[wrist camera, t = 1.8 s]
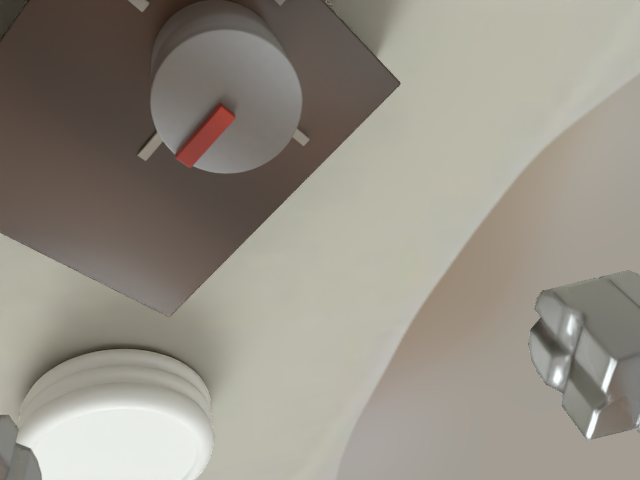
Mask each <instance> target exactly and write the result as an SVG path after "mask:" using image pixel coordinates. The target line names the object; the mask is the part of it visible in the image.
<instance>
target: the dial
mask: <svg viewBox="0 0 640 480" xmlns="http://www.w3.org/2000/svg"><path fill="white" fill-rule="evenodd" d="M302 102H303V99H302V89H301V85H300V81H299V78H298V75H297V73H296V71H295V69H294V67H293V65H292V63H291V62H290V60H289V58H288V57H287V55H286V53H285V52H284V50H283V48H282V47H281V45H280V43H279V42H278V40H277V38H276V37H275V35H274V33H273V32H272V30H271V29H270V27H269V26H268V25H267V24H266V22H265V21H264V20H263V19H262V18H261V17H259V16H258V15H257V14H256V13H254V12H253V11H251V10H250V9H248V8H246V7H244V6H242V5H240V4H237V3H234V2H230V1H224V0H206V1H200V2H196V3H193V4H191V5H188V6H186V7H184V8H182V9H181V10H179V11H178V12H176V13H175V14H174V15H173V16H171V17H170V18H169V19H168V20H167V22H166V23H165V24H164V25H163V27H162V28H161V30H160V31H159V33H158V35H157V37H156V39H155V42H154V45H153V50H152V55H151V85H150V108H151V114H152V119H153V122H154V125H155V127H156V130H157V132H158V134H159V135H160V137H161V139H162V140H163V142H164V143H165V144H166V146H167V147H168V148H169V149H170V150H171V151H172V152H173V153H174V154H175V157H176V159H177V160H179V161H180V162H182V163H183V164H185V165H186V166H187V167H189V168H191V167H192V166H194V167H197V168H199V169H202V170H205V171H209V172H214V173H225V174H226V173H239V172H244V171H248V170H251V169H254V168H257V167H259V166H261V165H263V164H265V163H267V162H269V161H270V160H271V159H273V158H274V157H276V156H277V155H278V154H279V153H280V152H281V151H282V150H283V149H284V148H285V147H286V145H287V144H288V143H289V142H290V140H291V138H292V137H293V135H294V133H295V131H296V129H297V127H298V124H299V121H300V118H301V113H302Z"/></svg>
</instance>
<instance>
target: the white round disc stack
mask: <svg viewBox="0 0 640 480" xmlns="http://www.w3.org/2000/svg"><path fill="white" fill-rule="evenodd" d="M17 427H18V429H19V431H18V435H17V440H16V443H18V444H21V445H23V446H26V447H28V448H31V450H32V451H33V453H34V455H35V456H36V458H37V460H38V463H39V467H40V470H41V473H42V480H195V479H196V478H197V477H198V476H199V475H200V474H201V473H202V472H203V470H204V469H205V467H206V466H207V464H208V463H209V460H210V458H211V456H212V451H213V447H214V438H215V436H214V430H213V416H212V411H211V398H210V394H209V392H208V389H207V387H206V385H205V383H204V382H203V380H202V379H201V378H200V376H199V375H198V374H197V373H196V372H195V371H194V370H192V369H191V368H190V367H188V366H187V365H185V364H184V363H182V362H180V361H178V360H176V359H174V358H171V357H169V356H166V355H162V354H159V353H155V352H150V351H144V350H137V349H111V350H103V351H97V352H92V353H88V354H84V355H81V356H78V357H75V358H72V359H70V360H68V361H65V362H63V363H61V364H59V365H57V366H56V367H54V368H53V369H51V370H49V371H48V372H47V373H45V374H44V375H43V376H42V377H40V379H39V380H38V381H37V382H36V383H35V384H34V385H33V386H32V388H31V389H30V391H29V392H28V394H27V395H26V397H25V399H24V401H23V403H22V406H21V409H20V414H19V420H18V423H17Z"/></svg>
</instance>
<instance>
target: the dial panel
mask: <svg viewBox="0 0 640 480" xmlns="http://www.w3.org/2000/svg"><path fill="white" fill-rule="evenodd" d="M200 1H206V0H28V1H27V3H26V4H25V6H24V7H23V8H22V10H21V11H20V13H19V14H18V15H17V17H16V18H15V20H14V21H13V22H12V24H11V25H10V27H9V28H8V30H7V31H6V32H5V34H4V35H3V37H2V38H1V39H0V233H2V234H4V235H6V236H8V237H10V238H12V239H14V240H16V241H18V242H20V243H22V244H24V245H26V246H28V247H30V248H32V249H34V250H36V251H38V252H40V253H42V254H44V255H46V256H48V257H50V258H52V259H54V260H56V261H58V262H60V263H62V264H64V265H66V266H68V267H70V268H72V269H74V270H76V271H78V272H80V273H82V274H84V275H86V276H88V277H90V278H92V279H94V280H96V281H98V282H100V283H102V284H104V285H106V286H108V287H110V288H112V289H114V290H116V291H118V292H120V293H122V294H124V295H126V296H128V297H130V298H132V299H134V300H136V301H138V302H140V303H142V304H144V305H146V306H148V307H150V308H152V309H154V310H156V311H158V312H160V313H162V314H164V315H166V316H168V317H170V316H171V315H172V314H173V313H174V312H175V311H176V310H177V309H178V308H179V307H180V306H181V305H182V304H183V303H184V302H185V301H186V300H187V299H188V298H189V297H190V296H191V295H192V294H193V293H194V292H195V291H196V290H197V289H198V288H199V287H200V286H201V285H202V284H203V283H204V282H205V281H206V280H207V279H208V278H209V277H210V276H211V275H212V274H213V273H214V272H215V271H216V270H217V269H218V268H219V267H220V266H221V265H222V264H223V263H224V262H225V261H226V260H227V259H228V258H229V257H230V256H231V255H232V254H233V253H234V252H235V250H236V249H237V248H238V247H239V246H240V245H241V244H242V243H243V242H244V241H245V240H246V239H247V238H248V237H249V236H250V235H251V234H252V233H253V232H254V231H255V230H256V229H257V228H258V227H259V226H260V225H261V224H262V223H263V222H264V221H265V220H266V219H267V218H268V217H269V216H270V215H271V214H272V213H273V212H274V211H275V210H276V209H277V208H278V207H279V206H280V205H281V204H282V203H283V202H284V201H285V200H286V199H287V198H288V197H289V196H290V195H291V194H292V193H293V192H294V191H295V190H296V189H297V188H298V187H299V186H300V185H301V184H302V183H303V182H304V181H305V180H306V179H307V178H308V177H309V176H310V175H311V174H312V173H313V172H314V171H315V170H316V169H317V168H318V167H319V166H320V165H321V164H322V163H323V162H324V161H325V160H326V159H327V158H328V157H329V156H330V155H331V154H332V153H333V152H334V151H335V150H336V149H337V148H338V147H339V146H340V145H341V144H342V143H343V142H344V141H345V140H346V139H347V138H348V137H349V136H350V135H351V134H352V133H353V132H354V131H355V130H356V129H357V128H358V127H359V126H360V124H361V123H362V122H363V121H364V120H365V119H366V118H367V117H368V116H369V115H370V114H371V113H372V112H373V111H374V110H375V109H376V108H377V107H378V106H379V105H380V104H381V103H382V102H383V101H384V100H385V99H386V98H387V97H388V96H389V95H390V94H391V93H392V92H393V91H394V90H395V89H396V88H397V87H398V86H399V85H400V84H401V83H400V82H399V81H398V79H397V78H396V77H395V76H394V75H393V74H392V73H391V72H390V71H389V70H388V69H387V68H386V67H385V66H384V65H383V64H382V62H381V61H380V60H379V59H378V58H377V57H376V56H375V55H374V54H373V53H372V52H371V51H370V50H369V49H368V48H367V47H366V45H365V44H364V43H363V42H362V41H361V40H360V39H359V38H358V37H357V36H356V35H355V34H354V33H353V32H352V31H351V30H350V28H349V27H348V26H347V25H346V24H345V23H344V22H343V21H342V20H341V19H340V18H339V17H338V16H337V15H336V14H335V13H334V11H333V10H332V9H331V8H330V7H329V6H328V5H327V4H326V3H325V2H324V1H323V0H224V1H230V2H234V3H237V4H240V5H242V6H244V7H246V8H248V9H250V10H251V11H253V12H254V13H256V14H257V15H258V16H259V17H261V18H262V19H263V20H264V21H265V22H266V24H267V25H268V26H269V27H270V29H271V30H272V32H273V33H274V35H275V37H276V38H277V40H278V42H279V43H280V45H281V47H282V48H283V50H284V52H285V53H286V55H287V57H288V58H289V60H290V62H291V63H292V65H293V67H294V69H295V71H296V73H297V75H298V78H299V81H300V85H301V89H302V99H303V102H302V113H301V118H300V121H299V124H298V127H297V129H296V131H295V133H294V135H293V137H292V138H291V140H290V142H289V143H288V144H287V145H286V147H285V148H284V149H283V150H282V151H281V152H280V153H279V154H278V155H277V156H276V157H274V158H273V159H271V160H270V161H269V162H267V163H265V164H263V165H261V166H259V167H257V168H254V169H251V170H248V171H244V172H239V173H226V174H225V173H214V172H209V171H205V170H202V169H199V168H197V167H194V166H192V167H191V168H189V167H187V166H186V165H185V164H183V163H182V162H180V161H179V160H177V159H176V157H175V154H174V153H173V152H172V151H171V150H170V149H169V148H168V147H167V146H166V144H165V143H164V142H163V140H162V139H161V137H160V135H159V134H158V132H157V130H156V127H155V125H154V122H153V119H152V114H151V108H150V85H151V55H152V50H153V45H154V42H155V39H156V37H157V35H158V33H159V31H160V30H161V28H162V27H163V25H164V24H165V23H166V22H167V20H168V19H169V18H170V17H171V16H173V15H174V14H175V13H176V12H178V11H179V10H181V9H182V8H184V7H186V6H188V5H191V4H193V3H196V2H200Z"/></svg>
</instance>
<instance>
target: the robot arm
mask: <svg viewBox="0 0 640 480" xmlns="http://www.w3.org/2000/svg"><path fill="white" fill-rule="evenodd" d="M535 311H536V312H537V313H538V314H539V315H540V317H541V318H540V319H539V320H538V322H537V323H536V324H535V325H534V326H533V327H532V328H531V330H530V337H529V344H528V345H529V349H530V354H531V359H532V362H533V364H534V366H535V368H536V371H537V373H538V374H539V375H540V377H541V378H542V380H543V381H544V382H545V384H546V385H548V386H550V387H552V388H554V389H556V390H558V391H560V392H562V393H563V395H562V407H563V408H564V410H565V411H566V412H567V414H568V415H569V416H570V418H571V419H572V420H573V422H574V423H575V425H576V426H577V427H578V429H579V430H580V431H581V433H582V434H583V435H584V437H585V438H586V439H587V440H591V439H595V438H599V437H603V436H608V435H612V434H616V433H620V432H624V431H628V430H632V429H636V428H638V430H637V431H638V432H639V433H640V275H639V274H637V273H635V272H632V271H629V270H627V271H623V272H619V273H615V274H611V275H607V276H602V277H599V278H593V279H589V280H585V281H581V282H577V283H572V284H568V285H564V286H560V287H556V288H551V289H547V290H543V291H542V292H541V293H540V295H539V296H538V297H537V301H536V305H535ZM18 431H19V429H18V427H17V426H16V425H15V423H14V422H13V420H12V419H11V417H10V416H9V415H0V480H42V473H41V470H40V467H39V463H38V460H37V458H36V456H35V455H34V453H33V451H32V450H31V448H28V447H26V446H23V445H21V444H18V443H16V440H17V435H18Z"/></svg>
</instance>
